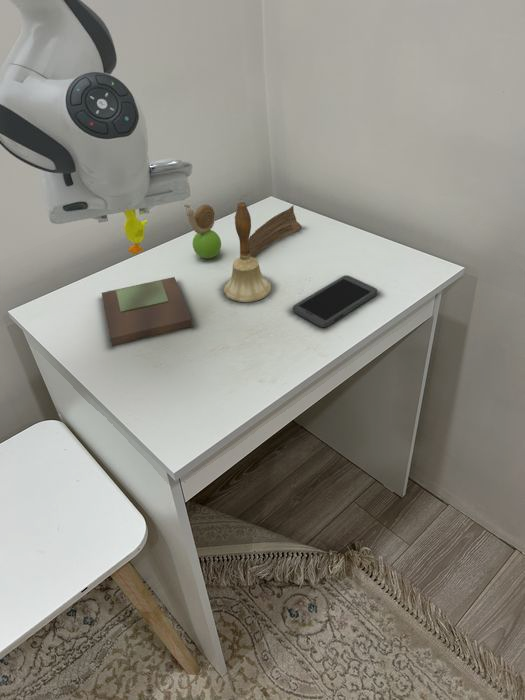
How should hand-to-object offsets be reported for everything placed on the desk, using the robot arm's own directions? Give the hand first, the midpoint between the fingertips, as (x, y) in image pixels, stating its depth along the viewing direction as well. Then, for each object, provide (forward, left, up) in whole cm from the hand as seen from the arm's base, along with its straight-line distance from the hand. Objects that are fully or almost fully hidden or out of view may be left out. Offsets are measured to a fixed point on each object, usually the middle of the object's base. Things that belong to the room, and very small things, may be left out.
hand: (122, 213), depth 84 cm
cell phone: (+30, -13, -17) cm, 37 cm away
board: (0, -3, -17) cm, 17 cm away
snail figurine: (+14, +11, -17) cm, 24 cm away
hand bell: (+18, -3, -17) cm, 25 cm away
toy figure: (0, -1, -7) cm, 7 cm away
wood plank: (+28, +11, -17) cm, 34 cm away
